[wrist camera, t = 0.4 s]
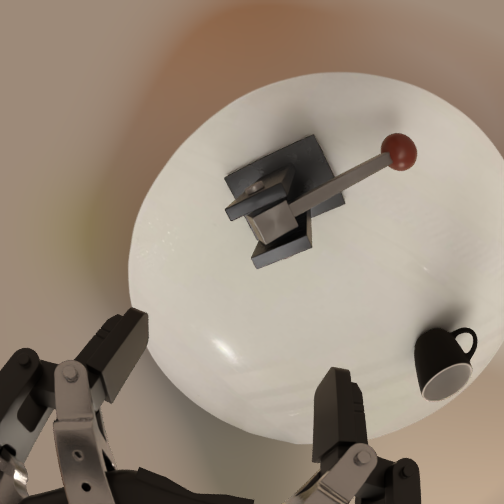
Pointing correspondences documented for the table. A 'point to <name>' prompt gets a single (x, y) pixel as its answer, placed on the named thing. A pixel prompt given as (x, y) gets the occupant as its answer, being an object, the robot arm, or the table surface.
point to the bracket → (282, 194)
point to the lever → (330, 189)
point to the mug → (442, 363)
